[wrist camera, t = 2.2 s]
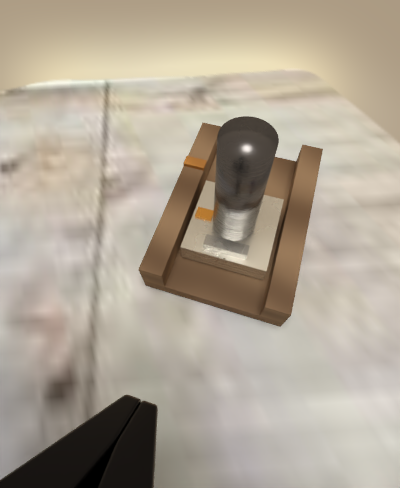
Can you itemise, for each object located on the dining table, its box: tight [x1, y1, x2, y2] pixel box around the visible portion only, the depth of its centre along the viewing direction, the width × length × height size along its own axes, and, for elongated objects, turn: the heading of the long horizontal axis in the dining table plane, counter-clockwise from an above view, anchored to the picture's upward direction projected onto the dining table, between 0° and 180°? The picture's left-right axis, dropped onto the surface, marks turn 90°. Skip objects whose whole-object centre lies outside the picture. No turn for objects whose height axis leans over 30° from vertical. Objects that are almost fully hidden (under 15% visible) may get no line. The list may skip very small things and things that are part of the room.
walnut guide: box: [139, 123, 323, 327], centre depth 25 cm, size 14×10×3 cm
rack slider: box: [180, 117, 284, 280], centre depth 20 cm, size 6×6×10 cm
